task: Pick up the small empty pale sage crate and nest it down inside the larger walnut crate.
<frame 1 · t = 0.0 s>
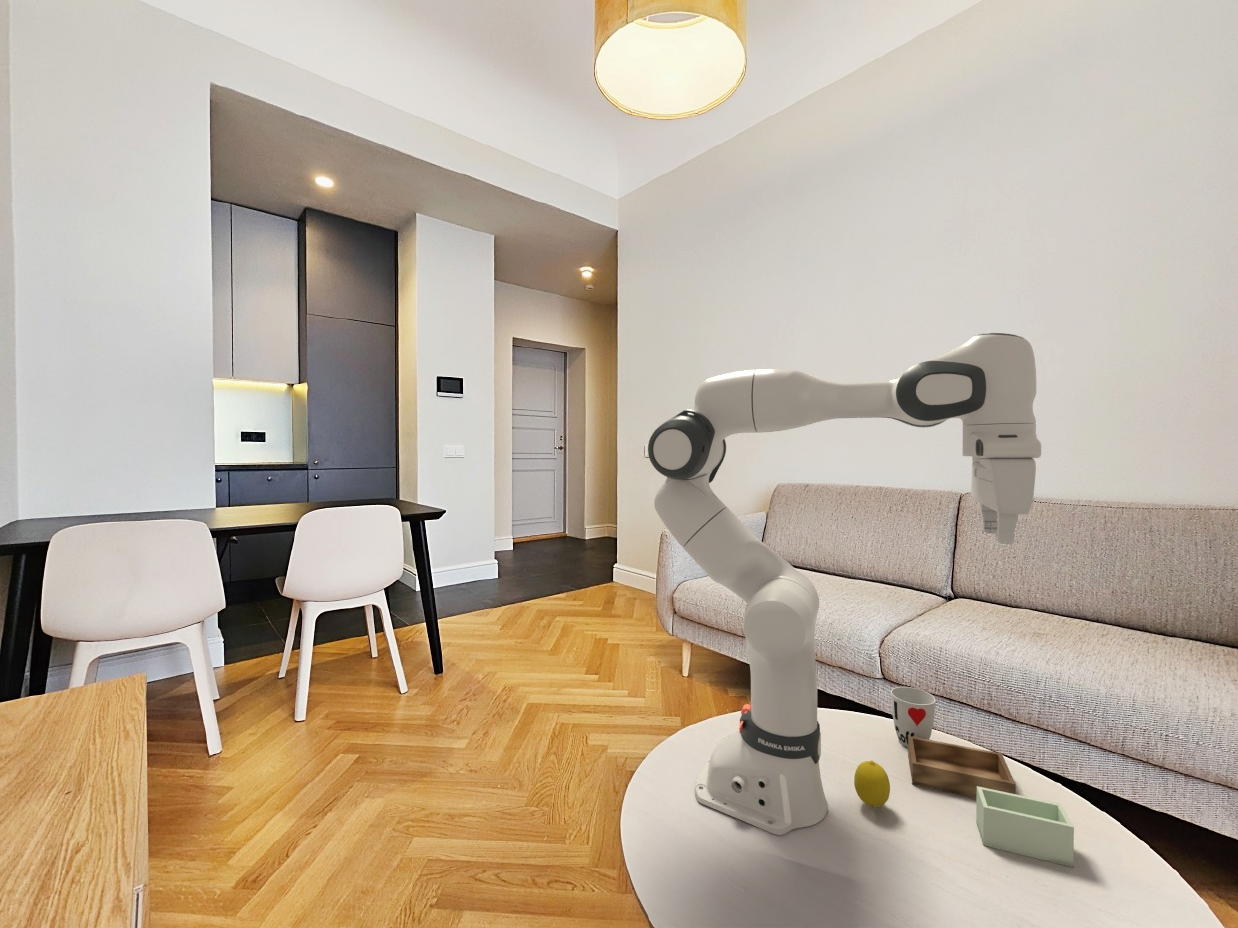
hand: (997, 537, 79), 48 cm above the table, fingers open, 8 cm apart
walnut crate: (957, 779, 98), on the table
sage crate: (1022, 843, 82), on the table
cup: (912, 743, 111), on the table
lemon: (871, 808, 91), on the table
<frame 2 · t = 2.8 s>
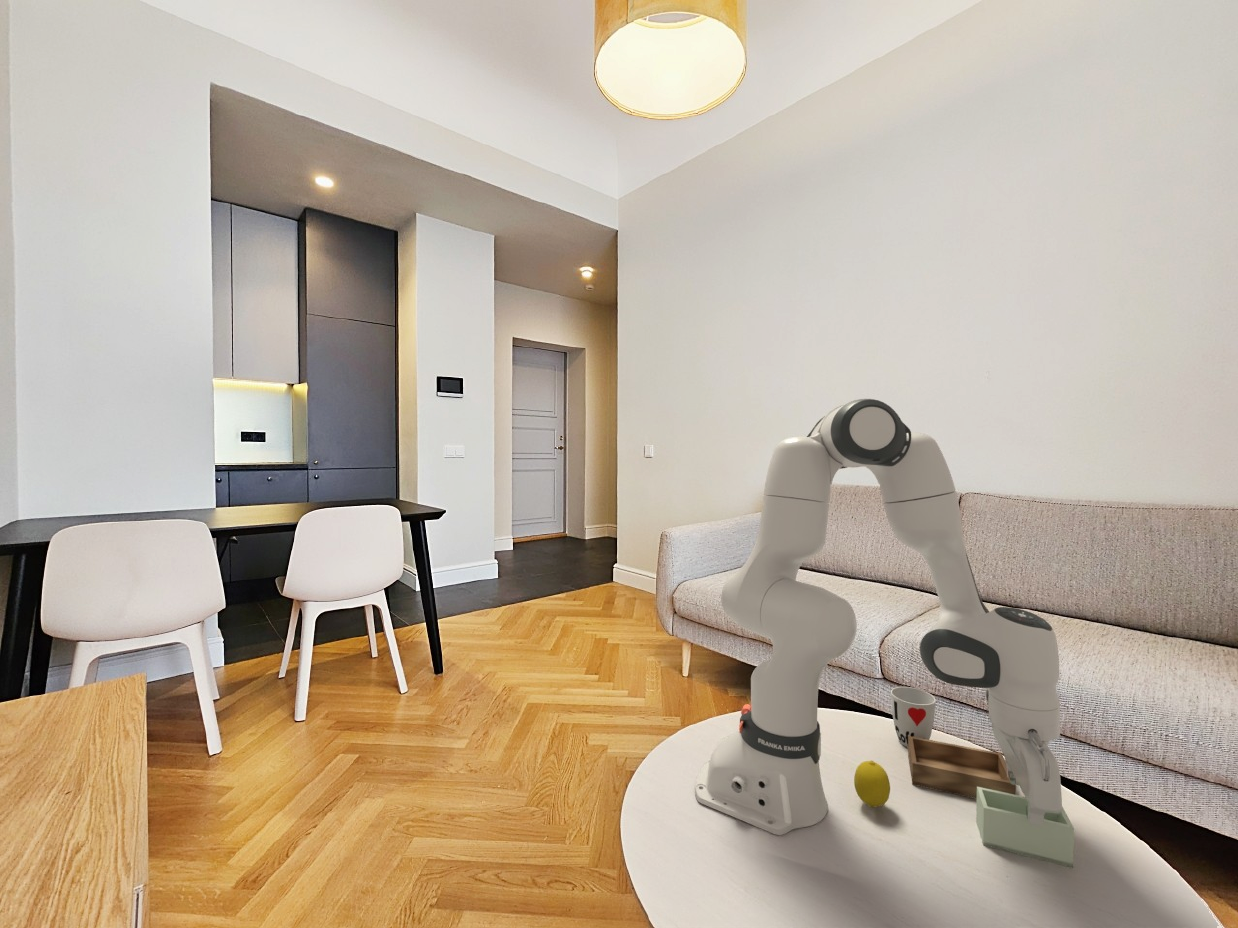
hand: (1024, 801, 83), 6 cm above the table, fingers open, 8 cm apart
sage crate: (1022, 843, 82), on the table, touching gripper
everything else where it was.
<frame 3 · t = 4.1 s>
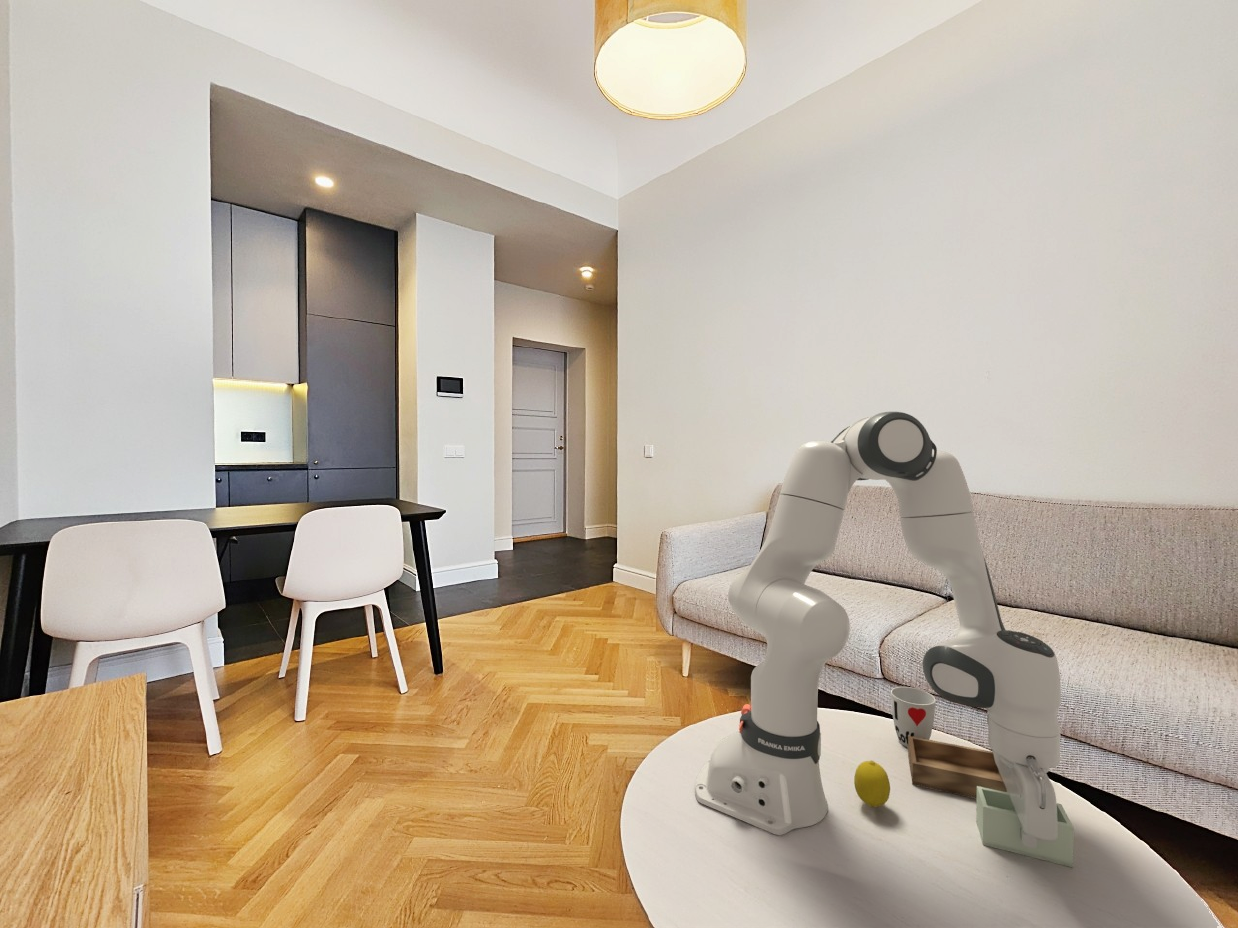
hand: (1022, 828, 82), 2 cm above the table, fingers closed on sage crate, 5 cm apart
sage crate: (1021, 843, 82), on the table, touching gripper
everything else where it was.
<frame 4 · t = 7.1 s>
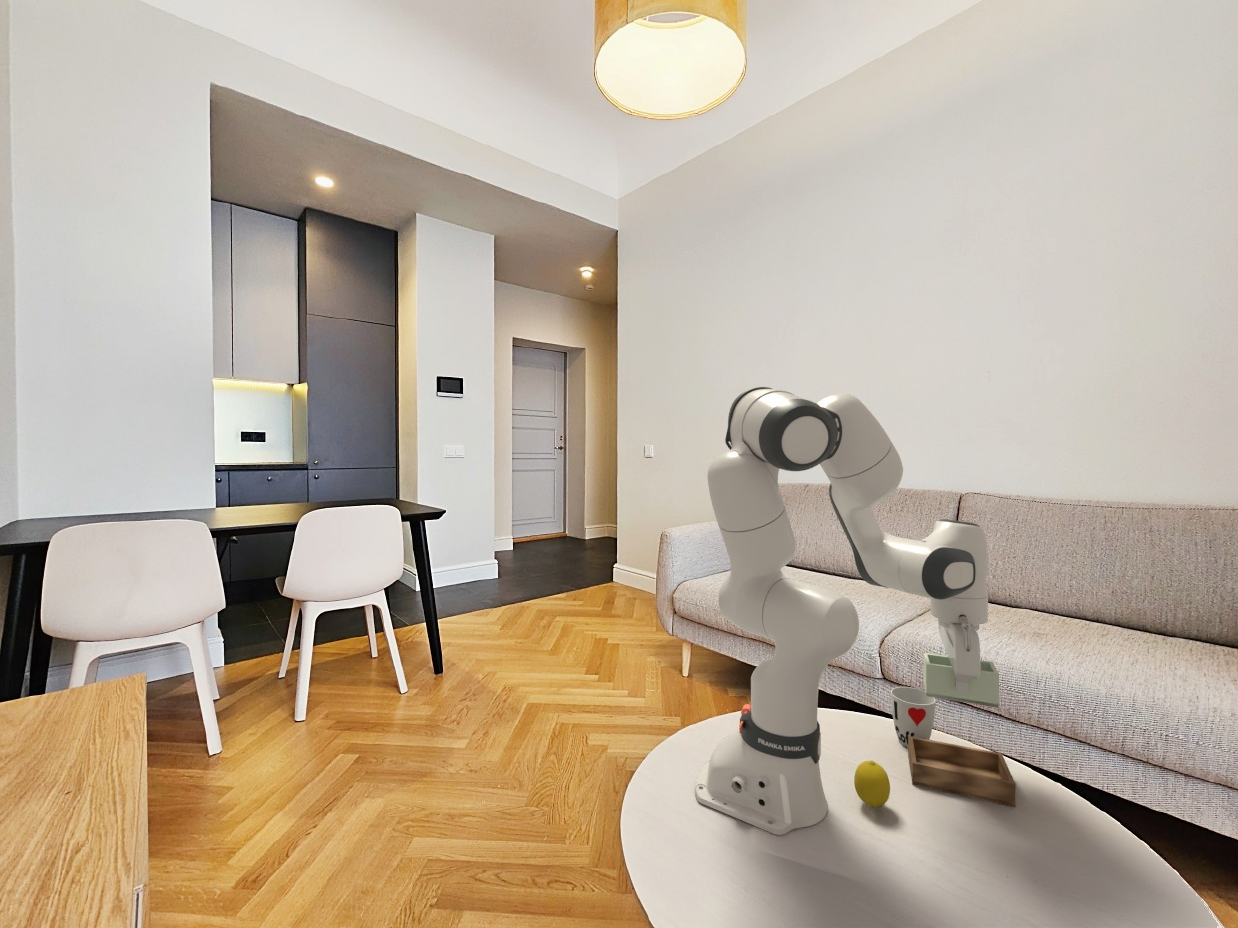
hand: (958, 682, 98), 18 cm above the table, fingers closed on sage crate, 5 cm apart
sage crate: (959, 694, 98), point 16 cm above the table, touching gripper
everything else where it was.
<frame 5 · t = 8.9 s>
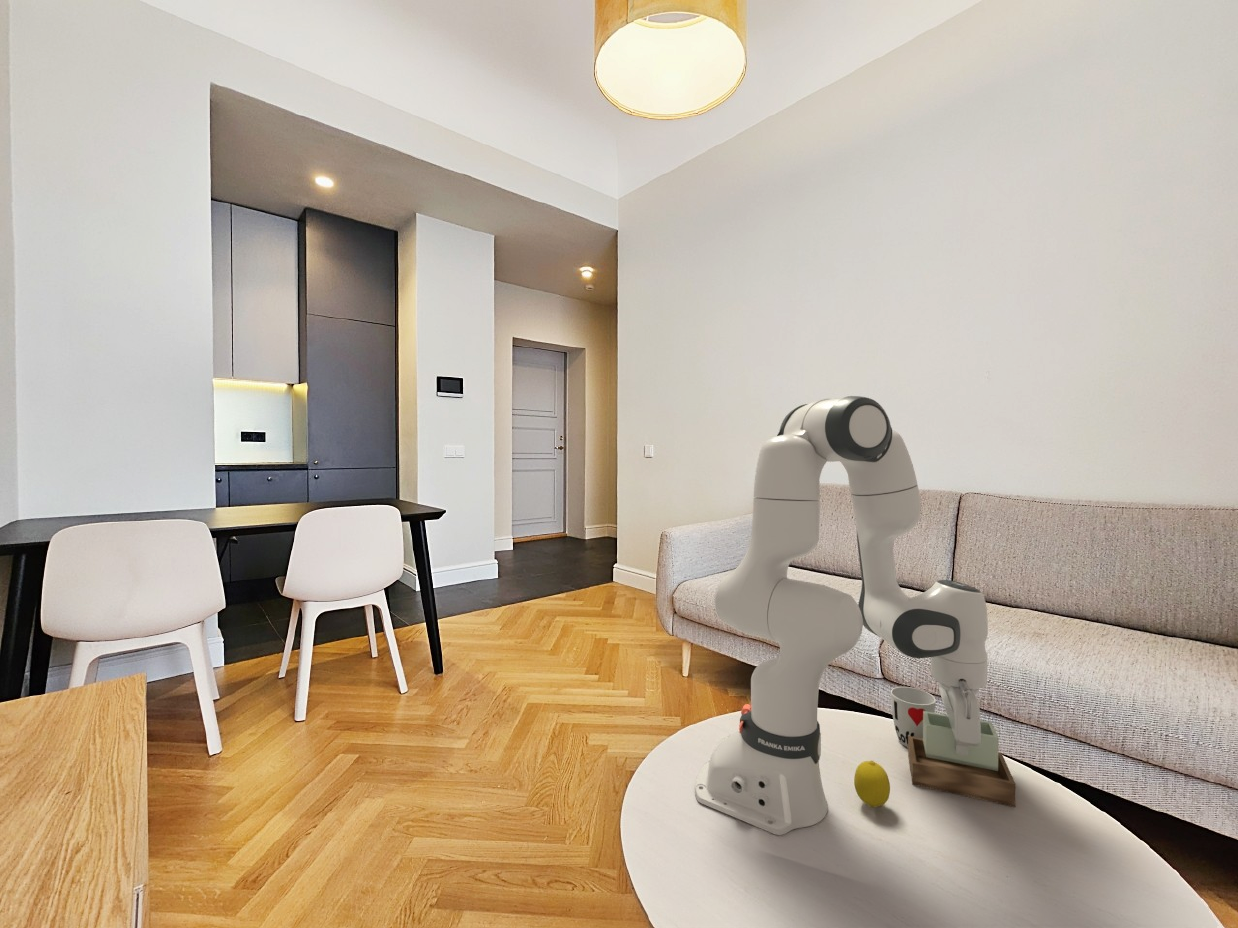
hand: (958, 742, 98), 7 cm above the table, fingers closed on sage crate, 5 cm apart
sage crate: (958, 755, 98), point 4 cm above the table, touching gripper
everything else where it was.
when the fingers open (5 cm above the table, at t = 10.3 s): sage crate drops 2 cm, resting on walnut crate.
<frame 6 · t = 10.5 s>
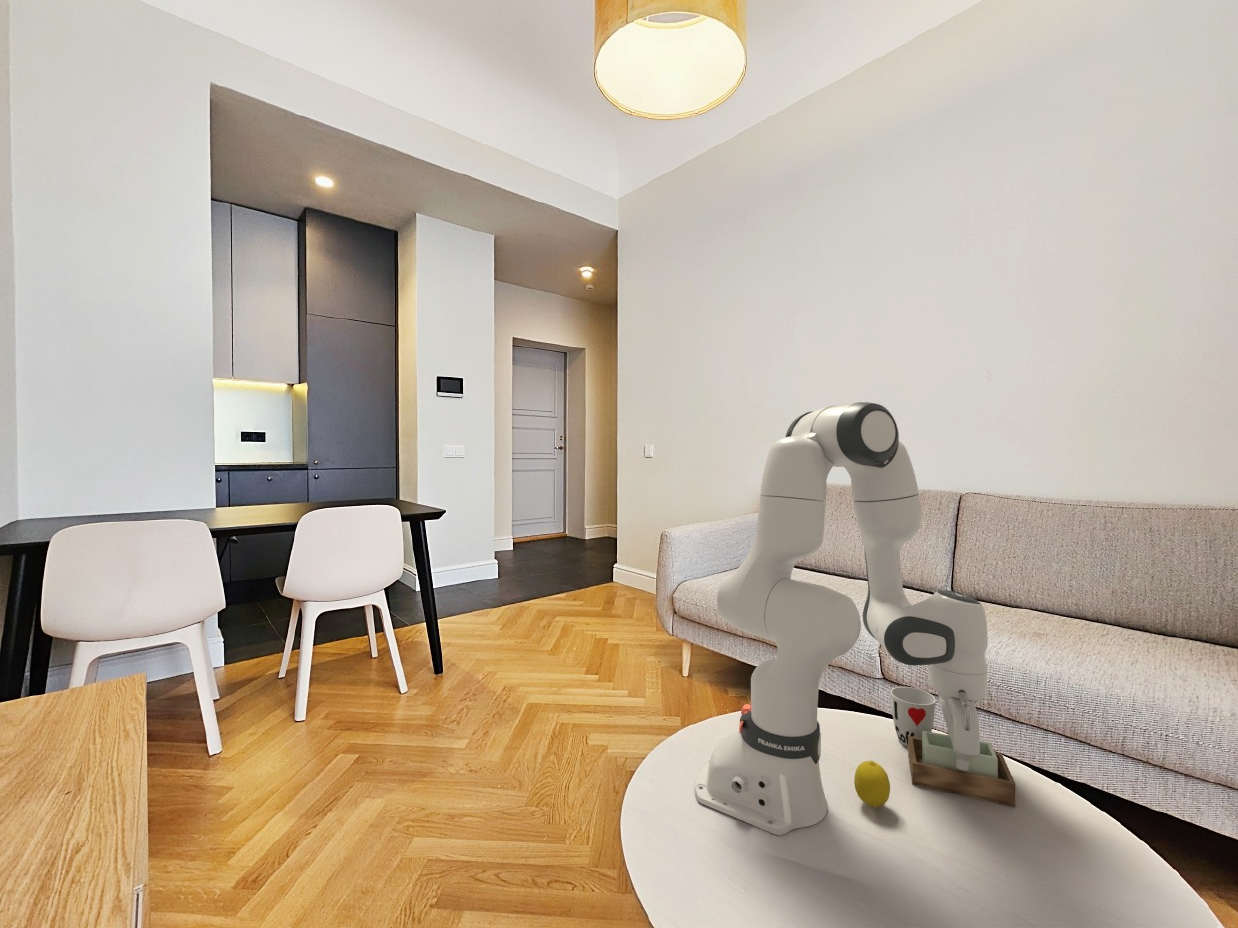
hand: (957, 754, 98), 5 cm above the table, fingers open, 8 cm apart
sage crate: (957, 775, 98), point 1 cm above the table, touching walnut crate
everything else where it was.
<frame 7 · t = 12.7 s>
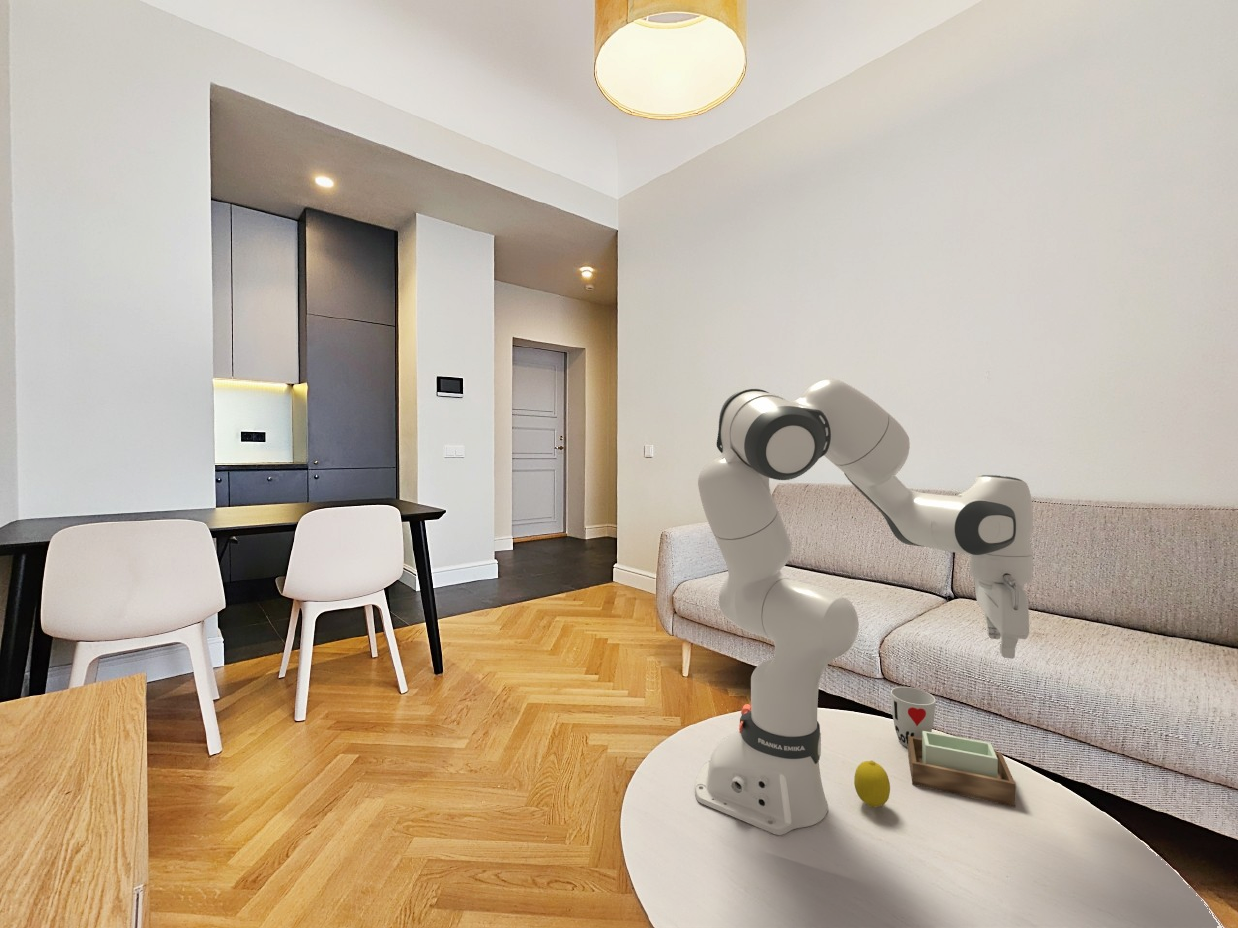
hand: (1000, 646, 93), 26 cm above the table, fingers open, 8 cm apart
nothing on the table moved.
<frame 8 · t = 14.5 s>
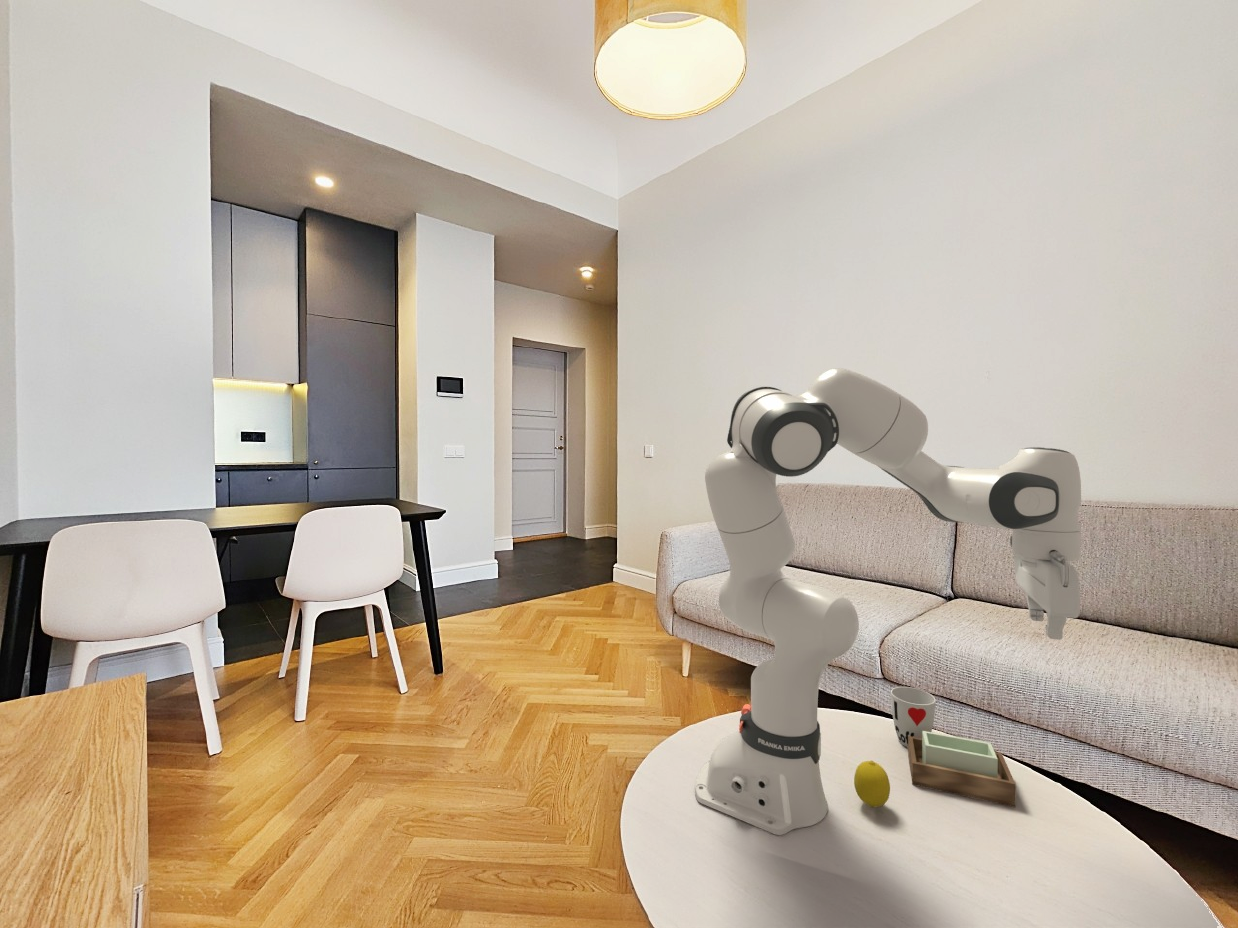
hand: (1044, 628, 88), 31 cm above the table, fingers open, 8 cm apart
nothing on the table moved.
at the end: sage crate 0.1 cm off-centre on the walnut crate, point 0.7 cm above the walnut crate's base; sage crate tilted 0°; the gripper is holding nothing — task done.
